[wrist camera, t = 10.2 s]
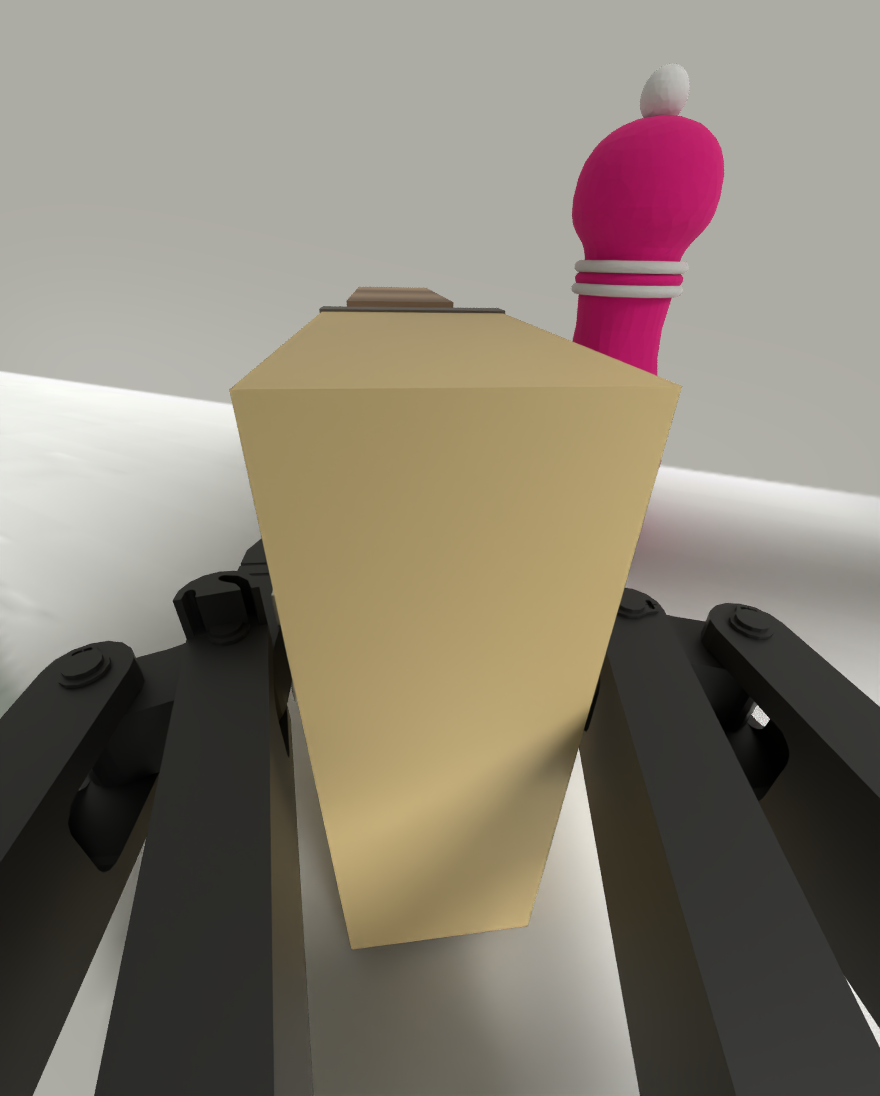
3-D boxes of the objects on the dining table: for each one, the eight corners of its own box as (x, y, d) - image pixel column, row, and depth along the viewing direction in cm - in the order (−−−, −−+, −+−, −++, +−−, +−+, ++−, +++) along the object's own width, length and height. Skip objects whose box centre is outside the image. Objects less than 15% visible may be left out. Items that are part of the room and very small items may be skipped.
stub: (529, 926, 11) (688, 379, 4) (349, 950, 10) (222, 382, 4) (470, 667, 17) (497, 307, 11) (361, 676, 17) (322, 306, 11)
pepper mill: (503, 499, 31) (544, 84, 20) (599, 489, 32) (684, 101, 22) (552, 556, 25) (648, 9, 14) (667, 540, 26) (831, 39, 16)
